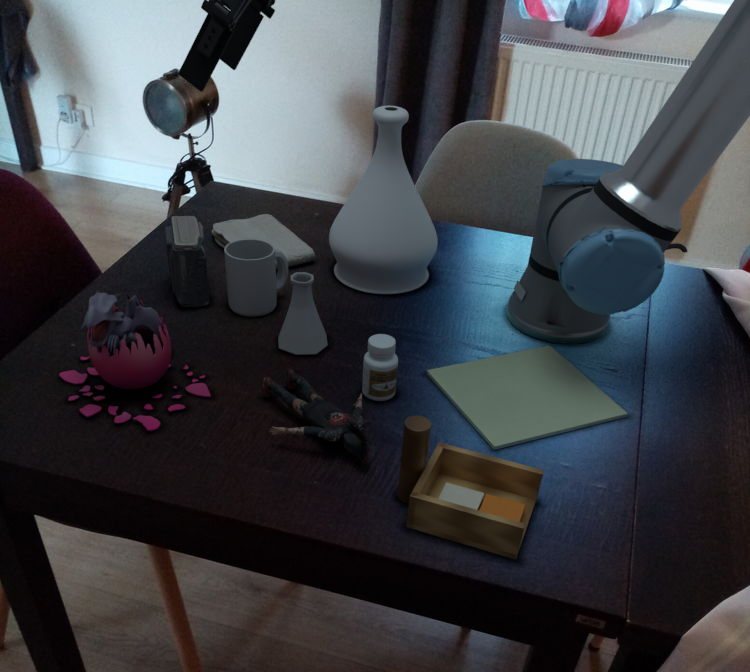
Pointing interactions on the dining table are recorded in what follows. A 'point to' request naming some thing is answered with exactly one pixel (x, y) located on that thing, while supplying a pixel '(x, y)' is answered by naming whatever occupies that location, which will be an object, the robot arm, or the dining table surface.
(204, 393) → the hatching egg
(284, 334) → the flask
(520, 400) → the placemat
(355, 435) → the figurine
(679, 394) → the dining table surface
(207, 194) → the dining table surface
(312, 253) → the washcloth
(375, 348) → the pill bottle
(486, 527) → the open wooden box
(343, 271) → the vase
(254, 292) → the cup
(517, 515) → the block
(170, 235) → the camera
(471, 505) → the block
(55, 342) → the dining table surface
